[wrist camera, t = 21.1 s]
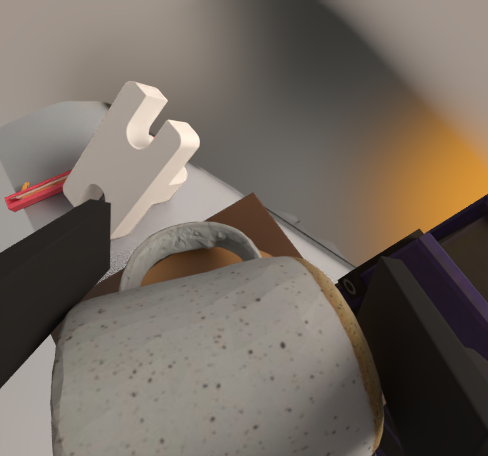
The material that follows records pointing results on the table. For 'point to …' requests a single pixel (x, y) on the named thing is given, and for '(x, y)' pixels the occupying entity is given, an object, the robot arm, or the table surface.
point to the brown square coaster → (211, 250)
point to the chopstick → (36, 192)
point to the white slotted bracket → (132, 159)
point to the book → (438, 284)
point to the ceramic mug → (215, 361)
